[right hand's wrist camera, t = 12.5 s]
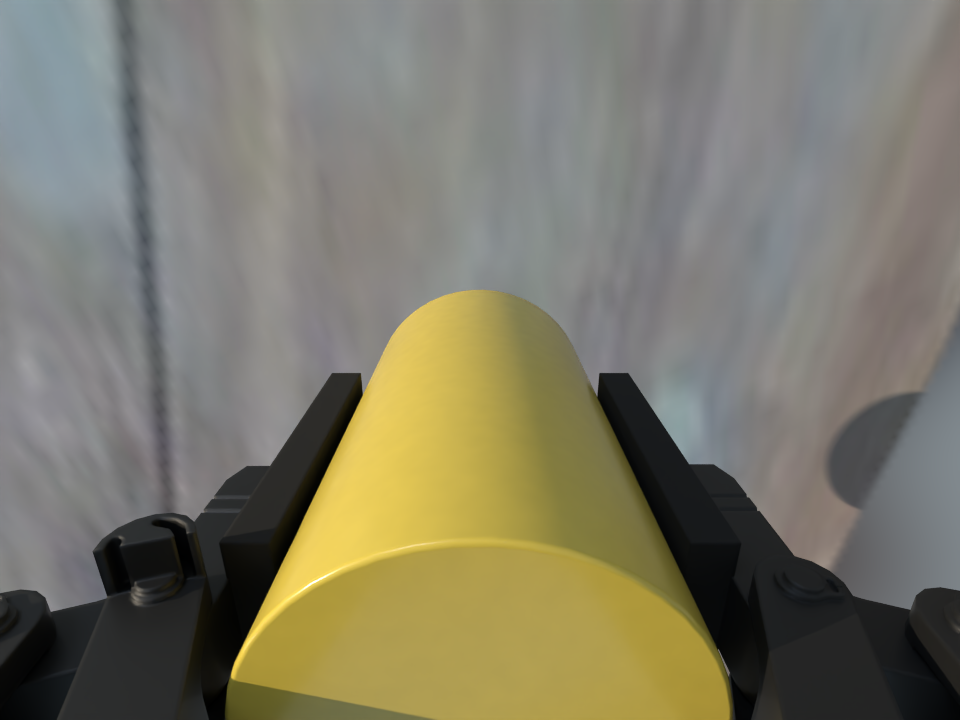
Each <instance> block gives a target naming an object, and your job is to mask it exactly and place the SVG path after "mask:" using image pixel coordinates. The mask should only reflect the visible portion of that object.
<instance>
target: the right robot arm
mask: <svg viewBox="0 0 960 720" xmlns="http://www.w3.org/2000/svg"><path fill="white" fill-rule="evenodd" d="M362 396H363V392H362V381H361V373H332V374H331V376H330V377H329V379H328V380H327V382H326V383H325V385H324V386H323V388H322V389H321V391H320V392H319V394H318V395H317V397H316V398H315V400H314V401H313V403H312V404H311V406H310V407H309V409H308V410H307V412H306V413H305V415H304V416H303V418H302V419H301V421H300V422H299V424H298V425H297V427H296V428H295V430H294V431H293V433H292V434H291V436H290V437H289V439H288V440H287V442H286V443H285V445H284V446H283V448H282V449H281V451H280V452H279V454H278V455H277V457H276V458H275V460H274V461H273V463H272V464H271V466H246V467H245V468H244V469H242V470H241V471H239V472H238V473H236V474H235V475H233V476H232V477H230V478H229V479H227V480H226V482H225V483H224V484H223V485H222V487H221V488H220V489H219V491H218V492H217V493H216V495H215V496H214V499H212V500H211V501H210V502H209V504H208V505H207V506H206V507H205V509H204V513H201V514H200V515H199V517H198V518H197V519H196V520H195V522H194V521H192V520H191V519H190V518H189V517H187V516H185V515H180V514H176V513H166V514H155V515H151V516H147V517H144V518H140V519H136V520H134V521H132V522H130V523H128V524H125V525H123V526H121V527H119V528H117V529H116V530H114V531H113V532H112V533H110V534H109V535H107V536H106V537H105V538H103V539H102V540H101V542H100V543H99V544H98V545H97V547H96V548H95V549H94V550H93V554H94V557H95V560H96V563H97V566H98V569H99V573H100V576H101V579H102V582H103V585H104V588H105V591H106V594H107V599H103V600H100V601H97V602H92V603H88V604H84V605H79V606H75V607H71V608H66V609H62V610H58V611H53V612H50V609H49V606H48V604H47V601H46V598H45V597H44V596H42V595H41V594H40V593H38V592H37V591H30V590H16V591H10V592H4V593H0V720H225V704H226V695H227V685H228V682H229V679H230V676H231V672H232V669H233V666H234V662H235V660H236V658H237V656H238V654H239V652H240V650H241V648H242V646H243V644H244V642H245V640H246V637H247V635H248V633H249V631H250V629H251V627H252V625H253V623H254V621H255V619H256V617H257V615H258V612H259V610H260V608H261V606H262V604H263V602H264V600H265V598H266V596H267V594H268V592H269V590H270V588H271V585H272V583H273V581H274V579H275V577H276V575H277V573H278V571H279V569H280V567H281V565H282V563H283V560H284V558H285V556H286V554H287V552H288V550H289V548H290V546H291V544H292V542H293V540H294V538H295V535H296V533H297V531H298V529H299V527H300V525H301V523H302V521H303V519H304V517H305V515H306V513H307V511H308V508H309V506H310V504H311V502H312V500H313V498H314V496H315V494H316V492H317V490H318V488H319V486H320V483H321V481H322V479H323V477H324V475H325V473H326V471H327V469H328V467H329V465H330V463H331V461H332V458H333V456H334V454H335V452H336V450H337V448H338V446H339V444H340V442H341V440H342V438H343V436H344V433H345V431H346V429H347V427H348V425H349V423H350V421H351V419H352V417H353V415H354V413H355V411H356V409H357V406H358V404H359V402H360V400H361V398H362ZM597 398H598V400H599V402H600V404H601V406H602V408H603V410H604V412H605V415H606V417H607V419H608V421H609V423H610V425H611V427H612V429H613V431H614V433H615V435H616V438H617V440H618V442H619V444H620V446H621V448H622V450H623V452H624V454H625V456H626V459H627V461H628V463H629V465H630V467H631V469H632V471H633V473H634V475H635V477H636V479H637V482H638V484H639V486H640V488H641V490H642V492H643V494H644V496H645V498H646V500H647V503H648V505H649V507H650V509H651V511H652V513H653V515H654V517H655V519H656V521H657V523H658V526H659V528H660V530H661V532H662V534H663V536H664V538H665V540H666V542H667V544H668V547H669V549H670V551H671V553H672V555H673V557H674V559H675V561H676V563H677V565H678V567H679V570H680V572H681V574H682V576H683V578H684V580H685V582H686V584H687V586H688V588H689V591H690V593H691V595H692V597H693V599H694V601H695V603H696V605H697V607H698V609H699V611H700V614H701V616H702V618H703V620H704V622H705V624H706V626H707V628H708V630H709V632H710V635H711V637H712V639H713V641H714V643H715V645H716V647H717V649H719V651H720V653H721V655H722V657H723V659H724V661H725V663H726V665H727V667H728V669H729V672H730V674H729V682H730V687H731V693H732V699H733V720H960V591H958V590H952V589H947V588H941V587H940V588H930V589H924V590H923V591H921V592H920V593H919V594H917V595H916V597H915V600H914V602H913V605H912V608H911V610H908V609H904V608H899V607H895V606H891V605H887V604H882V603H878V602H873V601H869V600H865V599H861V598H858V597H855V596H853V595H852V594H851V592H850V591H849V589H848V588H847V587H846V585H845V584H844V582H842V581H841V580H840V579H839V578H838V577H836V576H835V575H834V574H833V573H831V572H830V571H829V570H827V569H825V568H823V567H821V566H819V565H817V564H816V563H814V562H812V561H808V560H805V559H802V558H799V557H795V556H794V555H793V554H792V552H791V551H790V550H789V548H788V547H787V546H786V545H785V543H784V542H783V541H782V539H781V538H780V537H779V536H778V534H777V533H776V532H775V530H774V529H773V528H772V527H771V525H770V524H769V523H768V521H767V520H766V519H765V518H764V516H763V515H762V514H761V512H760V511H757V507H756V506H755V505H754V503H753V502H752V501H751V499H750V498H747V496H746V493H745V492H744V490H743V489H742V488H741V487H740V485H739V484H738V483H737V481H736V480H735V479H734V478H733V477H731V476H730V475H728V474H727V473H726V472H724V471H723V470H721V469H720V468H718V467H717V466H715V465H714V464H688V462H687V461H686V459H685V458H684V456H683V455H682V453H681V452H680V450H679V449H678V447H677V446H676V444H675V443H674V441H673V440H672V438H671V437H670V435H669V434H668V432H667V431H666V429H665V428H664V426H663V425H662V423H661V422H660V420H659V419H658V417H657V416H656V414H655V413H654V411H653V410H652V408H651V407H650V405H649V404H648V402H647V401H646V399H645V398H644V396H643V395H642V393H641V392H640V390H639V389H638V387H637V386H636V384H635V383H634V381H633V380H632V378H631V377H630V375H629V374H628V373H599V385H598V396H597Z"/></svg>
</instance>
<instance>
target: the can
mask: <svg viewBox="0 0 960 720" xmlns="http://www.w3.org/2000/svg"><path fill="white" fill-rule="evenodd" d="M225 720H733V699H732V693H731V687H730V682H729V677H728V674H727V672H726V669H725V666H724V664H723V661H722V658H721V656H720V653H719V651H718V649H717V647H716V645H715V643H714V641H713V639H712V637H711V635H710V632H709V630H708V628H707V626H706V624H705V622H704V620H703V618H702V616H701V614H700V611H699V609H698V607H697V605H696V603H695V601H694V599H693V597H692V595H691V593H690V591H689V588H688V586H687V584H686V582H685V580H684V578H683V576H682V574H681V572H680V570H679V567H678V565H677V563H676V561H675V559H674V557H673V555H672V553H671V551H670V549H669V547H668V544H667V542H666V540H665V538H664V536H663V534H662V532H661V530H660V528H659V526H658V523H657V521H656V519H655V517H654V515H653V513H652V511H651V509H650V507H649V505H648V503H647V500H646V498H645V496H644V494H643V492H642V490H641V488H640V486H639V484H638V482H637V479H636V477H635V475H634V473H633V471H632V469H631V467H630V465H629V463H628V461H627V459H626V456H625V454H624V452H623V450H622V448H621V446H620V444H619V442H618V440H617V438H616V435H615V433H614V431H613V429H612V427H611V425H610V423H609V421H608V419H607V417H606V415H605V412H604V410H603V408H602V406H601V404H600V402H599V400H598V398H597V396H596V394H595V391H594V389H593V387H592V385H591V383H590V381H589V379H588V377H587V375H586V373H585V371H584V368H583V366H582V364H581V362H580V360H579V358H578V356H577V354H576V352H575V350H574V347H573V345H572V344H571V342H570V340H569V338H568V337H567V335H566V333H565V332H564V331H563V329H562V328H561V327H560V326H559V324H558V323H557V322H556V321H555V320H554V319H553V318H552V317H551V316H550V315H548V314H547V313H546V312H544V311H543V310H542V309H540V308H539V307H538V306H536V305H534V304H532V303H530V302H529V301H527V300H525V299H522V298H519V297H517V296H514V295H511V294H507V293H503V292H499V291H490V290H468V291H462V292H455V293H452V294H449V295H445V296H442V297H440V298H437V299H435V300H433V301H430V302H429V303H427V304H425V305H424V306H422V307H420V308H419V309H417V310H416V311H415V312H414V313H412V314H411V315H410V316H409V317H407V318H406V319H405V321H404V322H403V323H402V324H401V325H400V326H399V327H398V328H397V330H396V331H395V333H394V334H393V335H392V337H391V338H390V340H389V342H388V344H387V346H386V348H385V350H384V352H383V354H382V356H381V359H380V361H379V363H378V365H377V367H376V369H375V371H374V373H373V375H372V377H371V379H370V381H369V384H368V386H367V388H366V390H365V392H364V394H363V396H362V398H361V400H360V402H359V404H358V406H357V409H356V411H355V413H354V415H353V417H352V419H351V421H350V423H349V425H348V427H347V429H346V431H345V433H344V436H343V438H342V440H341V442H340V444H339V446H338V448H337V450H336V452H335V454H334V456H333V458H332V461H331V463H330V465H329V467H328V469H327V471H326V473H325V475H324V477H323V479H322V481H321V483H320V486H319V488H318V490H317V492H316V494H315V496H314V498H313V500H312V502H311V504H310V506H309V508H308V511H307V513H306V515H305V517H304V519H303V521H302V523H301V525H300V527H299V529H298V531H297V533H296V535H295V538H294V540H293V542H292V544H291V546H290V548H289V550H288V552H287V554H286V556H285V558H284V560H283V563H282V565H281V567H280V569H279V571H278V573H277V575H276V577H275V579H274V581H273V583H272V585H271V588H270V590H269V592H268V594H267V596H266V598H265V600H264V602H263V604H262V606H261V608H260V610H259V612H258V615H257V617H256V619H255V621H254V623H253V625H252V627H251V629H250V631H249V633H248V635H247V637H246V640H245V642H244V644H243V646H242V648H241V650H240V652H239V654H238V656H237V658H236V660H235V662H234V666H233V669H232V672H231V676H230V679H229V682H228V685H227V695H226V704H225Z"/></svg>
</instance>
